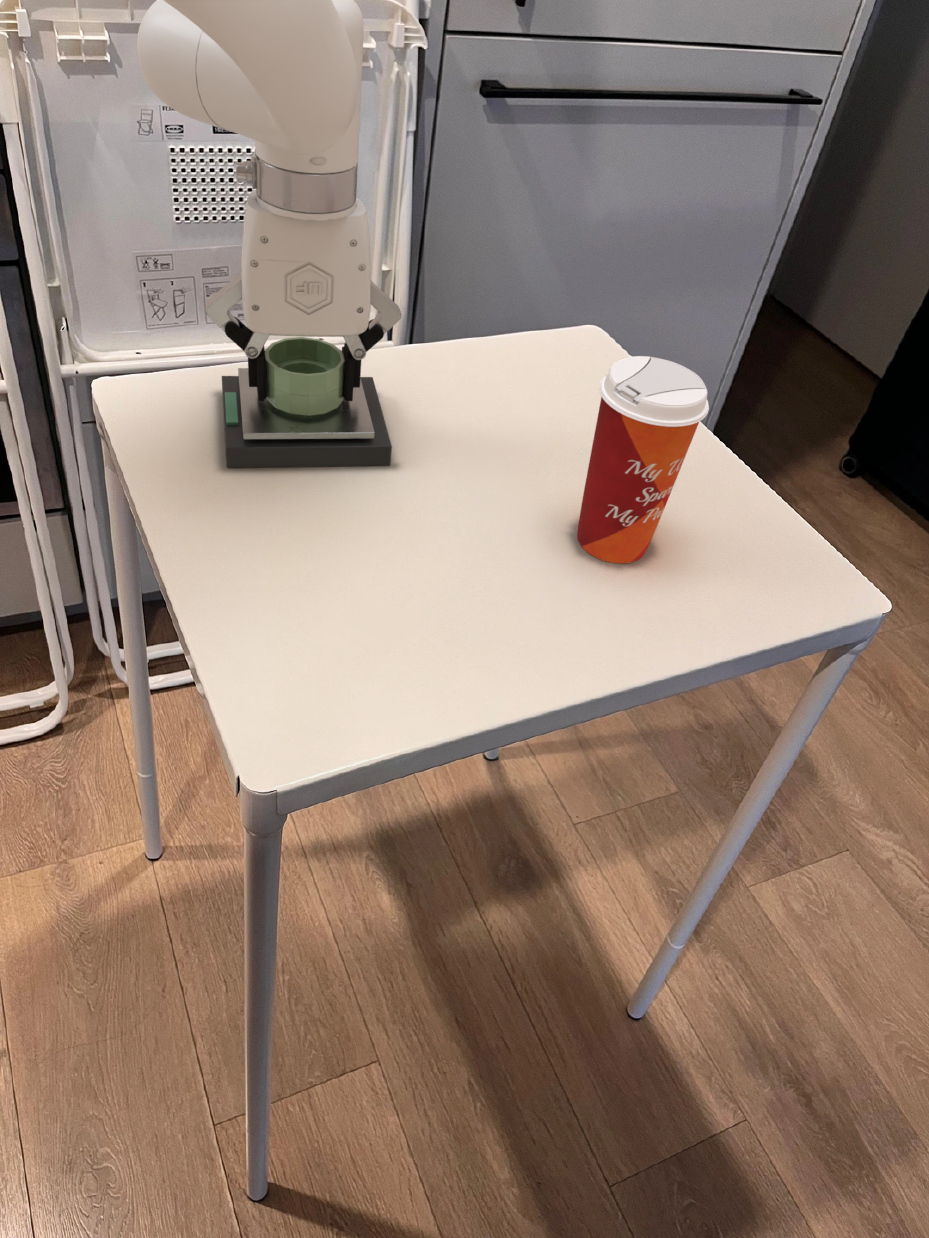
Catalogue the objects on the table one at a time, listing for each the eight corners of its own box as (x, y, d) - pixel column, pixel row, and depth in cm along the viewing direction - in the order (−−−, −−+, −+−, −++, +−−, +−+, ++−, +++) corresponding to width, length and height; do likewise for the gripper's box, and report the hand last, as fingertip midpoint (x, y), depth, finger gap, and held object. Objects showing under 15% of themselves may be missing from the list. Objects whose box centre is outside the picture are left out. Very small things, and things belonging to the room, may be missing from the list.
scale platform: (243, 439, 79) (243, 433, 79) (238, 373, 87) (238, 367, 86) (374, 438, 82) (374, 432, 81) (358, 374, 89) (358, 369, 89)
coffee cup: (615, 585, 75) (666, 420, 65) (542, 531, 79) (580, 367, 69) (681, 550, 80) (738, 390, 69) (609, 500, 84) (653, 342, 74)
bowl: (268, 420, 81) (267, 375, 78) (263, 379, 86) (262, 336, 83) (346, 419, 82) (348, 376, 79) (337, 380, 87) (339, 337, 84)
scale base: (226, 468, 80) (225, 444, 79) (222, 394, 89) (221, 372, 87) (390, 465, 83) (392, 443, 82) (371, 395, 92) (372, 374, 90)
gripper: (187, 195, 67) (202, 416, 79) (428, 207, 71) (408, 415, 83) (187, 159, 72) (201, 371, 84) (411, 172, 76) (395, 373, 88)
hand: (304, 391), depth 83 cm, fingers closed on bowl, 6 cm apart
